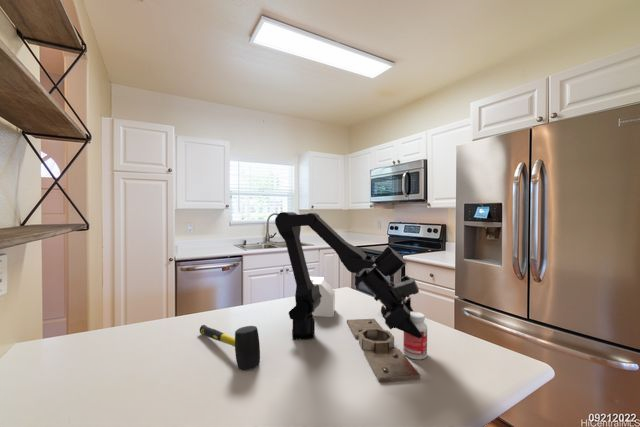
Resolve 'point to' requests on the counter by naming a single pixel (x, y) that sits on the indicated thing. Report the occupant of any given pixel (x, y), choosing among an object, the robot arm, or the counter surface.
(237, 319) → the counter surface
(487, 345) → the counter surface
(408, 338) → the pill bottle
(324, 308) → the white block
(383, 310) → the tape measure
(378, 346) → the brown mounting plate
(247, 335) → the mallet
